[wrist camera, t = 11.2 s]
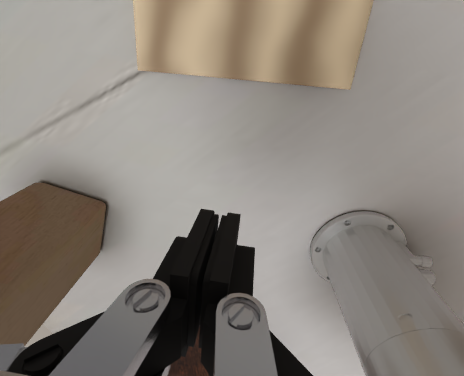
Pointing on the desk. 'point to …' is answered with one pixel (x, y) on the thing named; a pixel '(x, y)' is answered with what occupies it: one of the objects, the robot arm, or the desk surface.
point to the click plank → (253, 39)
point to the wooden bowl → (189, 363)
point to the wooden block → (43, 253)
